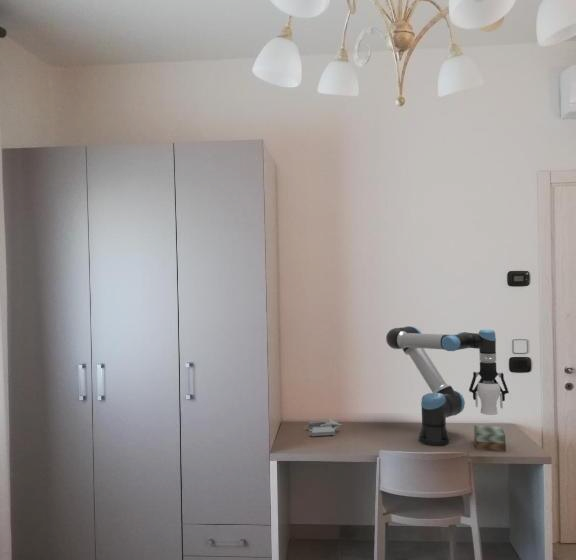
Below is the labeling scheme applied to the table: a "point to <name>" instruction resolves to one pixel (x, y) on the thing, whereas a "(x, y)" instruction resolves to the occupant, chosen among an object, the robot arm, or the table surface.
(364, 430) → the table surface
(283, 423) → the table surface
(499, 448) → the tower base
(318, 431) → the spaceship toy
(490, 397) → the cup
